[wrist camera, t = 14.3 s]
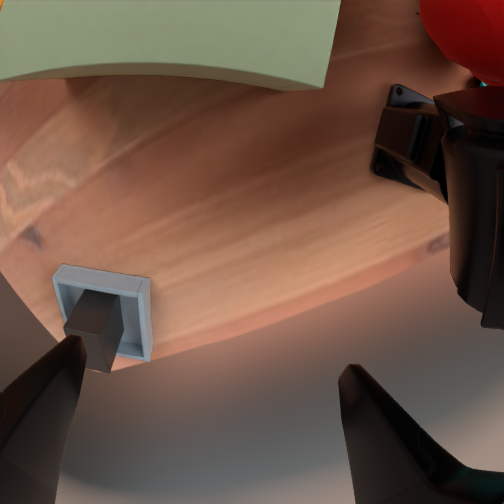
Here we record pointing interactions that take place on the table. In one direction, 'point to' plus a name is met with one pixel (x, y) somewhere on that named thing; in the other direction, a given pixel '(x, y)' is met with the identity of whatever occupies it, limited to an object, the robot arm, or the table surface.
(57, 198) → the table surface
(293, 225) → the table surface
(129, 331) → the dish
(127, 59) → the cabinet
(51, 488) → the robot arm
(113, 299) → the charcoal rectangular block
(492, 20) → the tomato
